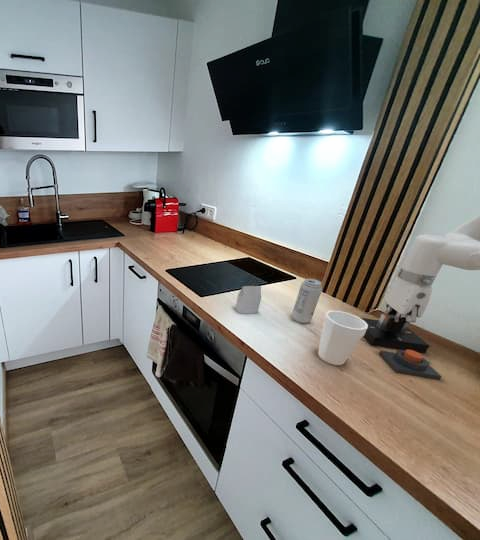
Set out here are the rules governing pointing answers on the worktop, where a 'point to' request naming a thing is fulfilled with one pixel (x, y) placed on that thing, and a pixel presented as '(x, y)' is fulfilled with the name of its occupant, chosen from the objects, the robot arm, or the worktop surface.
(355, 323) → the foam cup
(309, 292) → the energy drink can
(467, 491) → the worktop surface
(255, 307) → the grey tapered block
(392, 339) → the tap deck
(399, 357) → the button block
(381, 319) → the lever
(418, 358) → the button
